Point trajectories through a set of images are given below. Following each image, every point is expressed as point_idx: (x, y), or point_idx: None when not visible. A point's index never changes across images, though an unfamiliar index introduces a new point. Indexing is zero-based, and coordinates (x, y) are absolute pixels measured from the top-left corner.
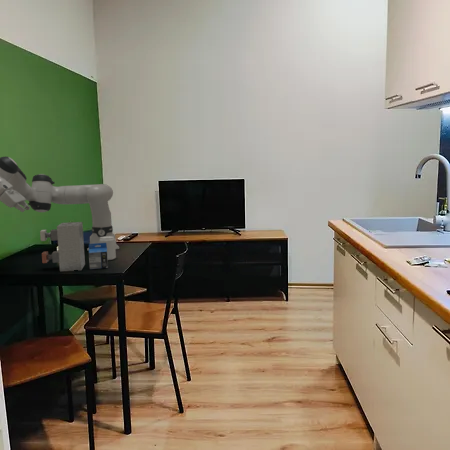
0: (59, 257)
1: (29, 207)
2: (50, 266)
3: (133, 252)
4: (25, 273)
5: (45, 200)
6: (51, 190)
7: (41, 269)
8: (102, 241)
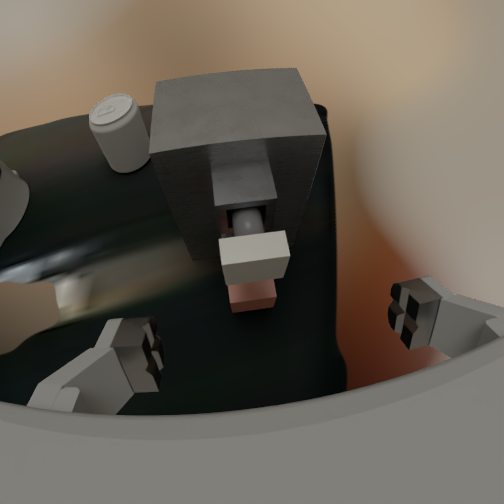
0: (300, 221)
1: (138, 318)
2: (204, 307)
3: (72, 127)
4: (314, 360)
5: None
6: None
7: (253, 325)
8: (132, 119)
